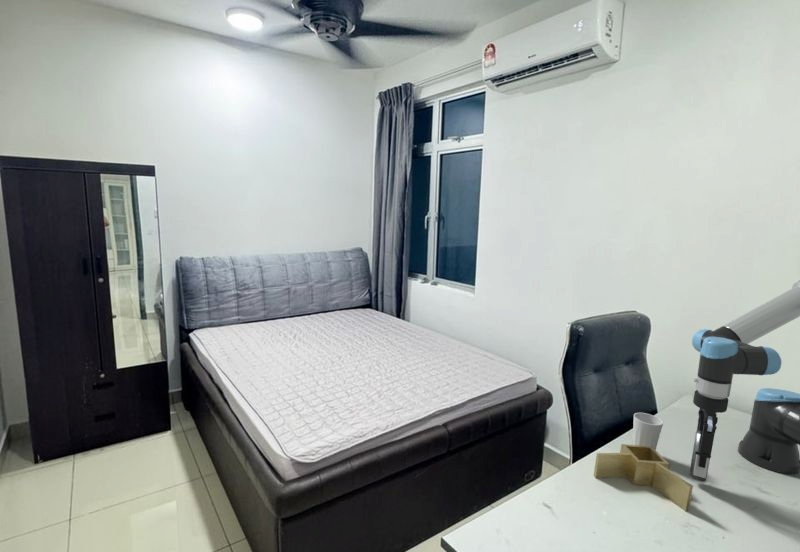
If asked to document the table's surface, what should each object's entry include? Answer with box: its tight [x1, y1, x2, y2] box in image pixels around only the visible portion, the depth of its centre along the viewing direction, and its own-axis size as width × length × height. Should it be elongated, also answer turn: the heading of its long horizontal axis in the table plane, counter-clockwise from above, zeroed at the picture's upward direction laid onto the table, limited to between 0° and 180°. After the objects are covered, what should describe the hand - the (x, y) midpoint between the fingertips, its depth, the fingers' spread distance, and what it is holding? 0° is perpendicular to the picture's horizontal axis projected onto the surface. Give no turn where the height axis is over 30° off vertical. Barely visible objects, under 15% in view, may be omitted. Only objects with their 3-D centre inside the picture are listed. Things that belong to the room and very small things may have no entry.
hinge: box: [593, 443, 694, 512], centre depth 116 cm, size 19×18×7 cm
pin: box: [688, 430, 711, 483], centre depth 117 cm, size 4×4×13 cm
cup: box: [631, 412, 664, 451], centre depth 132 cm, size 8×8×12 cm
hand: (698, 471), depth 118 cm, fingers closed on pin, 4 cm apart
